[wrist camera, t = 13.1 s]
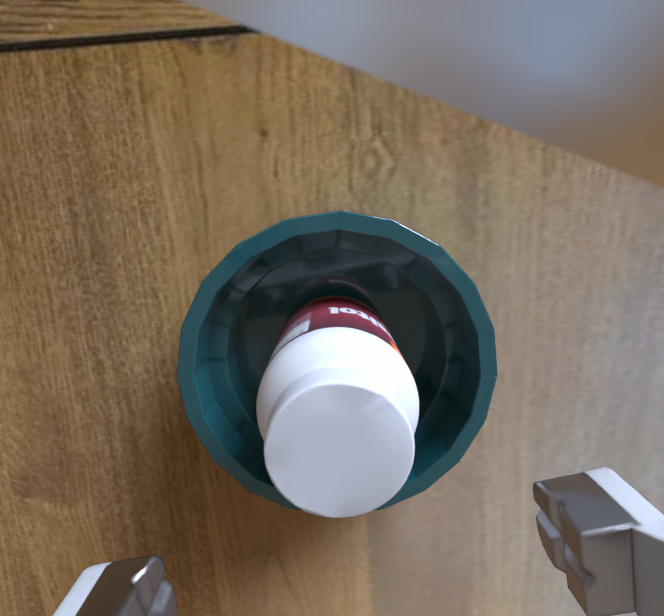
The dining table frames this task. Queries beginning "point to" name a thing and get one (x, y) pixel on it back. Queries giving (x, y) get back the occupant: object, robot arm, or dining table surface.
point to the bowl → (343, 280)
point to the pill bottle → (337, 410)
